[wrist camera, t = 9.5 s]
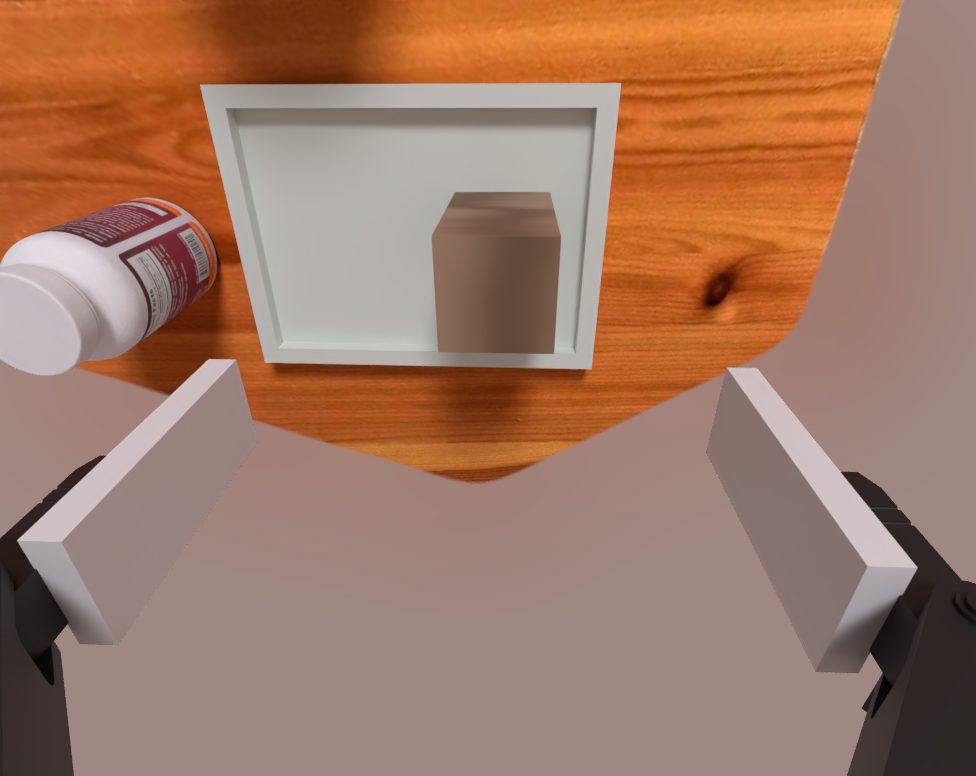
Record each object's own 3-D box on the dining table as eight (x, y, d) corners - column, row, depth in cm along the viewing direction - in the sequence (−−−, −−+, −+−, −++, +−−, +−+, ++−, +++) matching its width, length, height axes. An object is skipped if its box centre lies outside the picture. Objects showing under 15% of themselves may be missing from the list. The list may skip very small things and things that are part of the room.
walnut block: (458, 282, 31) (438, 352, 24) (455, 191, 29) (431, 236, 21) (545, 283, 31) (554, 353, 23) (550, 191, 29) (561, 237, 21)
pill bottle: (96, 251, 32) (-80, 326, 23) (142, 170, 30) (-35, 217, 20) (191, 319, 34) (65, 415, 25) (241, 249, 32) (122, 326, 22)
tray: (274, 351, 35) (265, 362, 34) (215, 84, 27) (199, 84, 26) (588, 358, 34) (591, 369, 33) (616, 82, 27) (621, 83, 25)
